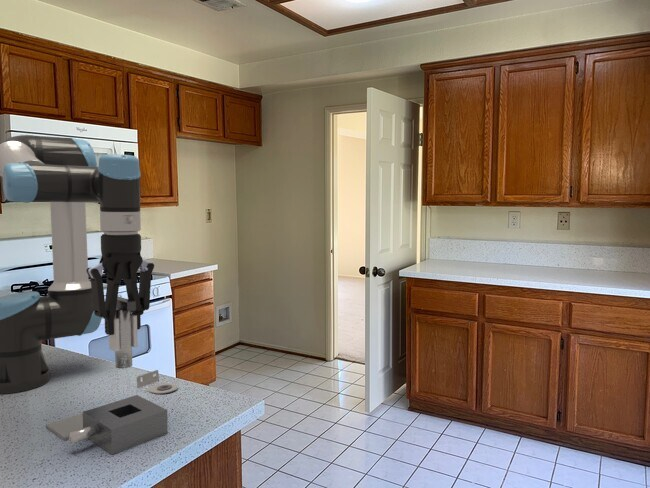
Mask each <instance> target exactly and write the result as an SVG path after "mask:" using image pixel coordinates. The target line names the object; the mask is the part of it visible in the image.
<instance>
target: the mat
mask: <svg viewBox="0 0 650 488" xmlns="http://www.w3.org/2000/svg"><path fill="white" fill-rule="evenodd" d="M45 426H46V427H45V428H47V429H48V430H49V431H51V432H52V433H53V434H54V435H56V436H57V437H58V438H61V439H62V440H63V441H67V440H68V441H69V438H68V435H69V433H70V432H73V431H76V430H79V429H82V428H83V412H82V413H79V414H75V415H72V416H70V417H66V418H65V417H64V418H63V419H60V420H57V421H54V422H50V423H47V424H45Z"/></svg>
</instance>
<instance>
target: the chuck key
mask: <svg viewBox="0 0 650 488" xmlns="http://www.w3.org/2000/svg"><path fill="white" fill-rule="evenodd" d="M134 310H136V301H133V300H129V299H128V298H125V297H121V296H118V298H117V305H116V313H115V318H118V319H119V343H120V351H114V354H115V356H114V357H115V359H114V360H115V368H117V369H128V368H132V367H133V347H132V323H131V311H134Z"/></svg>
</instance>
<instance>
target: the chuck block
mask: <svg viewBox="0 0 650 488" xmlns="http://www.w3.org/2000/svg"><path fill="white" fill-rule="evenodd" d="M82 413H83V428H82V429H79V430H76V431H73V432H70V433H69V435H68V438H69V439H68V441H69V443H70V444H73V443H77V442H81V441H83V440H86V439H88V440H90V441H91V442H92V443H94V444H95V445H96V446H99V447H100V448H101V449H103V450H104V451H106V452H107V453H109V454H110V455H115V454H117V453H120V452H122V451H125V450H128V449H131V448H133V447H136V446H138V445H141V444H143V443H146V442H149V441H151V440H153V439H156V438H158V437H161V436H164V435H165V434H168V429H169V427H168V426H169V425H168V409H167V408H164V407H162V406H160V405H158V404H156V403H154V402H152V401H150V400H148V399H146V398H144V397H142V396H140V395H138V394H136V395H133V396H129V397H126V398H123V399H120V400H117V401H114V402H110V403H107V404H106V403H105V404H104V405H100V406H97V407H94V408H90V409H86V410H84V411H82Z"/></svg>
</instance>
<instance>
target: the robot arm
mask: <svg viewBox="0 0 650 488" xmlns="http://www.w3.org/2000/svg"><path fill="white" fill-rule="evenodd" d="M141 173H142V172H141V169H140V160H139V158H138V157H137V156H135V155H130V154H120V153H119V154H115V153H113V154H111V153H108V154H107V153H105V154H102V155H100V156H99V158H98V163H97V158H96V153H95V152H94V148H93V147H92V145H91V143H90V142H89V141H87V140H84V139H78V138H73V137H59V136H58V137H57V136H41V135H33V134H32V135H31V134H25V135H24V134H21V135H14V136H11V137H7V138H4V139H2V140H1V141H0V177H2V187H3V193H4V197H5V199H6V200H7V201H8V202H9V201H10V202H16V203H17V202H20V203H24V204H27V203H28V204H30V203H50V204H49V207H50V224H51V225H50V226H51V227H50V228H51V247H52V248H51V249H52V271H53V273H52V274H53V282H52V284H51V285H50V286H49V287H48V288H47V295H45V296H44V295H43V296H41V294H40V292H38V291H20V292H16V293H11V294H6V295H3V296H0V394H12V393H20V392H25V391H29V390H33V389H36V388H38V387H41V386H43V385H45V384H47V383H48V382H49V381H50V380H51V371H50V367H49V364H48V363H47V360H46V358H45V356H44V353H43V350H42V349H43V348H42V342H43V341H47V340H54V339H55V340H56V339H61V338H67V337H75V336H76V337H77V336H78V337H81V336H83V335H87V334H92V333H95V331H97V330H98V329H99V327H100V325H101V323H102V319H104V334H105V335H107V336H108V341H109V342H108V345H109V347H108V348H109V350H110V351H114V352H115V351H120V343H119V319H118V318H115V313H116V305H117V298H118V297H119V290H120V289H119V288H120V286H121V282H122V280H123V282H124V284H125V289H126V296H127V299H129V300H133V301H136V310H134V311H131V323H132V348H137V347H138V346H139V345H138V330H140V329H141V326H142V325H141V322H142V321H141V319H142V318H141V316H142V315H143V314H144V311H148V310H149V309H150V307H151V306H150V305H151V301H150V300H151V286H152V285H151V284H152V273H153V271H154V269H155V263H153V262H147V261H145V260H144V259H143V256H142V255H141V251H142V235H141V234H140V233H138V232H140V231H141V227H142V225H141V177H142V174H141ZM86 203H99V220H100V221H99V223H100V224H99V225H100V228H99V229H100V231H101V232H103V234H101V235H100V252H101V258H100V259H99V261H98V262H99V263H98V264H97V265H95V266H93V267H89V263H88V262H89V261H88V240H87V239H88V238H87V237H88V236H87V213H86ZM139 270H140V272H139V281H138V275H137V272H138V271H139ZM103 271H104V272H105V274H106V285H107V286H106V292H105V291H104V282H103V277H102V276H103V275H104V273H103Z"/></svg>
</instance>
